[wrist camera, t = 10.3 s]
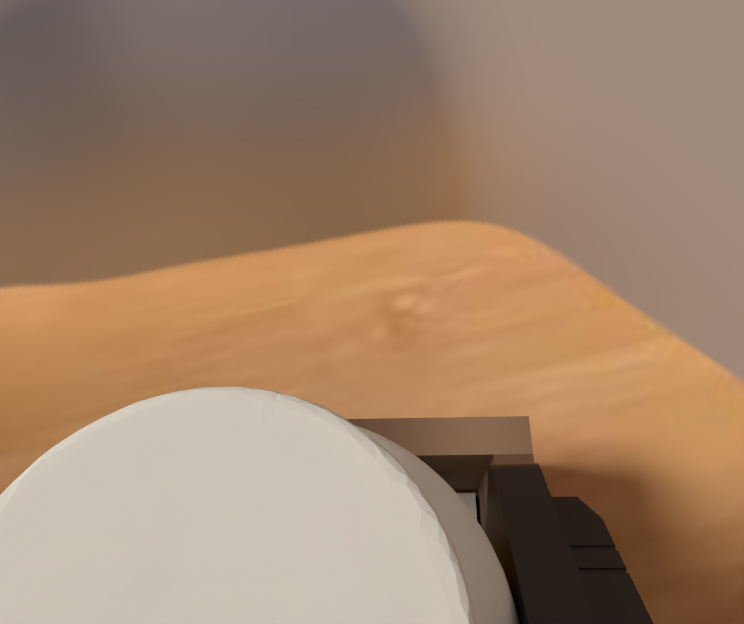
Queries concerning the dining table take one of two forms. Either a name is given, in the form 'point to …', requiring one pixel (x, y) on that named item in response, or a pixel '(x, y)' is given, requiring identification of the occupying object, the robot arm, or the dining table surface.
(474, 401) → the dining table surface
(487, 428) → the holder
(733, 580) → the dining table surface
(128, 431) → the supplement bottle
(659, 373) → the dining table surface
